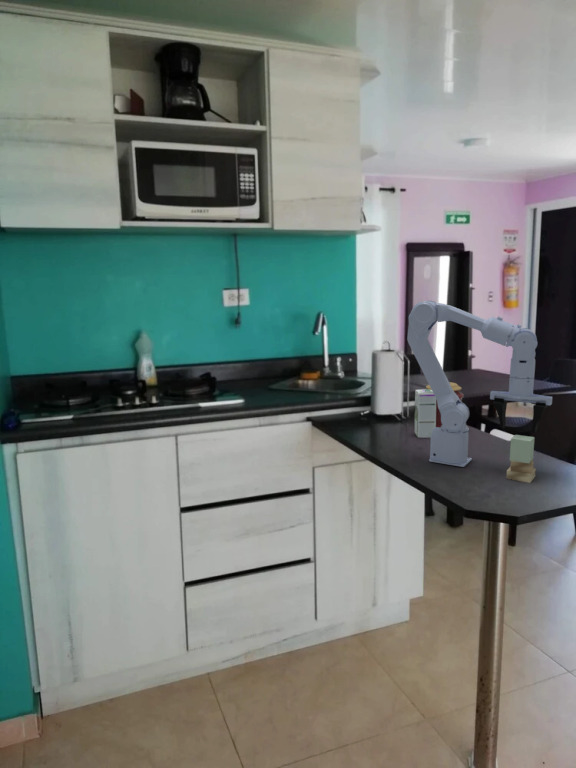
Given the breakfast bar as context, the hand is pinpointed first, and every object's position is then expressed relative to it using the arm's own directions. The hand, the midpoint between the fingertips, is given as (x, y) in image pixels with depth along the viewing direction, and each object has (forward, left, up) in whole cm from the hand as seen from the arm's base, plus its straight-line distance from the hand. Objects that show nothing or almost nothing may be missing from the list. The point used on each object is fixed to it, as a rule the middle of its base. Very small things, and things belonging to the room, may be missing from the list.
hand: (518, 429), depth 144 cm
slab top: (+3, -7, -8) cm, 11 cm away
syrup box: (-31, +19, -11) cm, 38 cm away
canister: (-29, +30, -11) cm, 43 cm away
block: (+3, -7, -6) cm, 9 cm away
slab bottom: (+3, -7, -11) cm, 13 cm away
